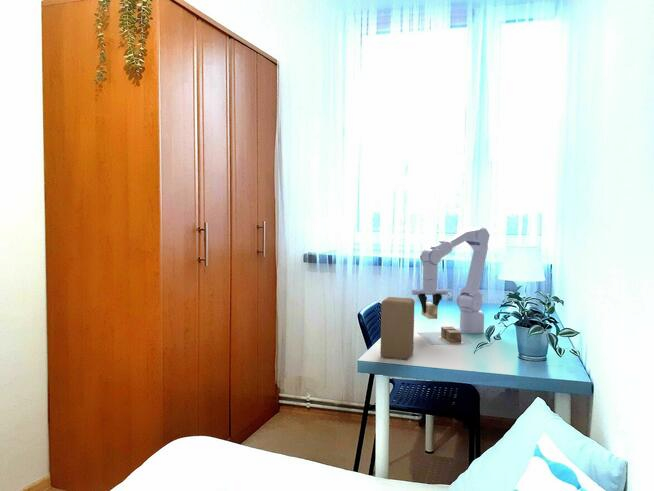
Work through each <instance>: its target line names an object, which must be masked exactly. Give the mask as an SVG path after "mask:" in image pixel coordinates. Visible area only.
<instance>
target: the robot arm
mask: <svg viewBox="0 0 654 491" xmlns="http://www.w3.org/2000/svg"><path fill="white" fill-rule="evenodd" d="M489 240H490V233H489V232H488V230H487V228H485V227H473V226H465V227H464V228H462V229H461V230H460V232H458V233H456V234H455V235H454V236H452V237H451V238H449V239H448V240H446V239H441V240H439V242H438V243H436V244H435V245H431V247H430V248H426V249H424V250H423V251H422V252H421V254H420V255H419V258H420V261H421V264H422V288H419V289H411V295H412V296H417V298H418V299H419V302H420V304H421V311H422V310H423V313H426V302H428V301H427V299H428V297H427V295H428V296H432V303H433V304H435V305H436V306H439V305H440V304H439V303H440V301H441V300H442V296H443V295H445V296H448V295H449V290H448V289H446V288H445V289H443V288H442V289H441V288H440V289H439V288H438V273H439V272H438V268H439V267H438V264H440V262H441V261H442V258H444V257H445V256H448V255H449V254H451V253H452V252H453V248H455V247H456V246H457V247H458V246H459V245H461V244H463V243H464V242H465V243H467V245H468V246H470V247H471V249H472V250H473V252H472V256H471V262H470V266H469V270H468V274H467V278H466V284H465V286H464V287H463V288H461V290H460V291H459V294H458V296H457V297H456V305H457V306H458V307H459V308H458V309H459V328H458V327H457V328H455V329H456V330H458V331H460V332H461V334H483V333H484V334H485V315H484V314H485V313H484V311H482V310H481V309H482V307H483V293H482V292H481V290H480V286H481V285H480V284H481V280H482V277H483V276H482V275H483V272H484V267H485V263H486V259H487V254H488V251H489V249H488V244H489Z"/></svg>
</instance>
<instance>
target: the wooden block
mask: <svg viewBox="0 0 654 491" xmlns="http://www.w3.org/2000/svg"><path fill="white" fill-rule="evenodd" d="M380 311H381V312H380V314H381V315H380V357H381V358H383V359H385V358H386V359H393V360H394V359H395V360H404V361H407V360H409V359H410V358H411V356H412V355H413V353H414V340H415V339H414V335H415V334H414V333H415V299H414V298H412V297H411V298H409V297H396V296H395V297H394V296H388V297H387V298H385V299H383V300H382V301H381V307H380Z"/></svg>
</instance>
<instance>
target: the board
mask: <svg viewBox="0 0 654 491" xmlns="http://www.w3.org/2000/svg"><path fill="white" fill-rule="evenodd" d="M417 334H418V335H419V336H421V338H423V339H424V340H425V341H426V342H428V343H429V344H431V345H433V346H434V345H473V343H472V342H470V341H469V340H468V339H466V338H465V337H462V336H461V343H449V342H448V341H446V339H444V338H442V337H441V331H439V332H438V331H436V332H434V331H432V332H431V331H430V332H417Z"/></svg>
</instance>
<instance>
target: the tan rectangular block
mask: <svg viewBox="0 0 654 491" xmlns="http://www.w3.org/2000/svg"><path fill="white" fill-rule="evenodd" d="M438 306H439V305H438ZM438 306H436V305H435V304H433V302H431V301H426V313H423V310H422V309H421V315H422V316H424V317H426V319H427V320H437V319H438V308H439V307H438Z"/></svg>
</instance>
